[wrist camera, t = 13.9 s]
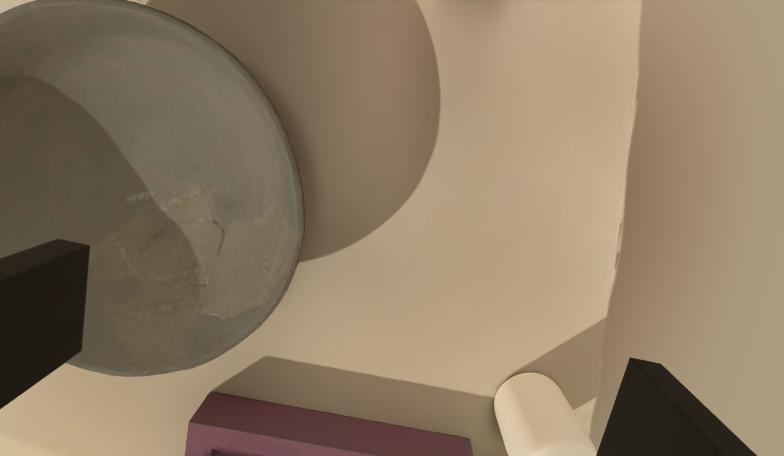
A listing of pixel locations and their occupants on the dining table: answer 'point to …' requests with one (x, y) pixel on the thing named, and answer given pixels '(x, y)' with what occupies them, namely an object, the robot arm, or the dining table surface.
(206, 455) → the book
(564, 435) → the can
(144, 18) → the bowl
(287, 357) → the dining table surface
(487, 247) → the dining table surface
